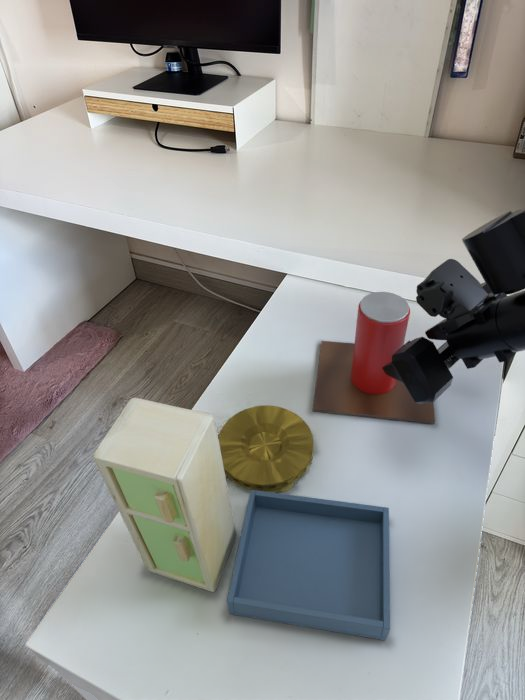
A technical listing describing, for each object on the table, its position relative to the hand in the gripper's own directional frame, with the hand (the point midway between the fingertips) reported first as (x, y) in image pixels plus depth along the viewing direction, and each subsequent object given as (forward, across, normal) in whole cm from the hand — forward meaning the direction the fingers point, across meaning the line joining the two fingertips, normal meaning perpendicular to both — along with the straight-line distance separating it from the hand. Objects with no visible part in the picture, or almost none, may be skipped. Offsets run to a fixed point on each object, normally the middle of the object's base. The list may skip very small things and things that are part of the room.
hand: (406, 352), depth 64 cm
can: (+8, 0, +2) cm, 9 cm away
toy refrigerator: (+7, +35, +5) cm, 36 cm away
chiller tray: (0, +26, +11) cm, 28 cm away
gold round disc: (+10, +20, +2) cm, 22 cm away
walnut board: (+9, 0, +3) cm, 9 cm away
